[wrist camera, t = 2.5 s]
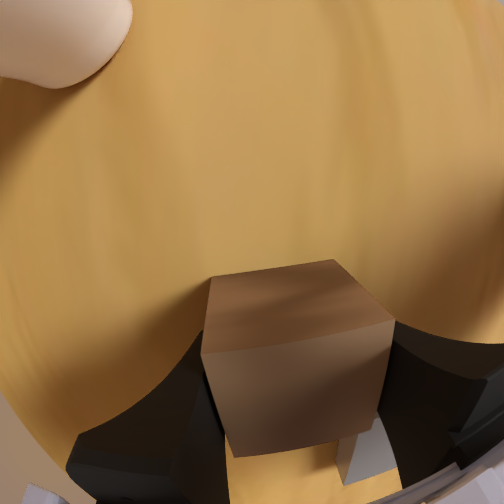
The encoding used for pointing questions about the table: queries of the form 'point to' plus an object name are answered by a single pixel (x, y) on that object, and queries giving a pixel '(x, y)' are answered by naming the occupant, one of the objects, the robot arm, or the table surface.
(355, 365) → the walnut cube
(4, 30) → the drinking glass
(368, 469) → the block
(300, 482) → the table surface
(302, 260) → the table surface
